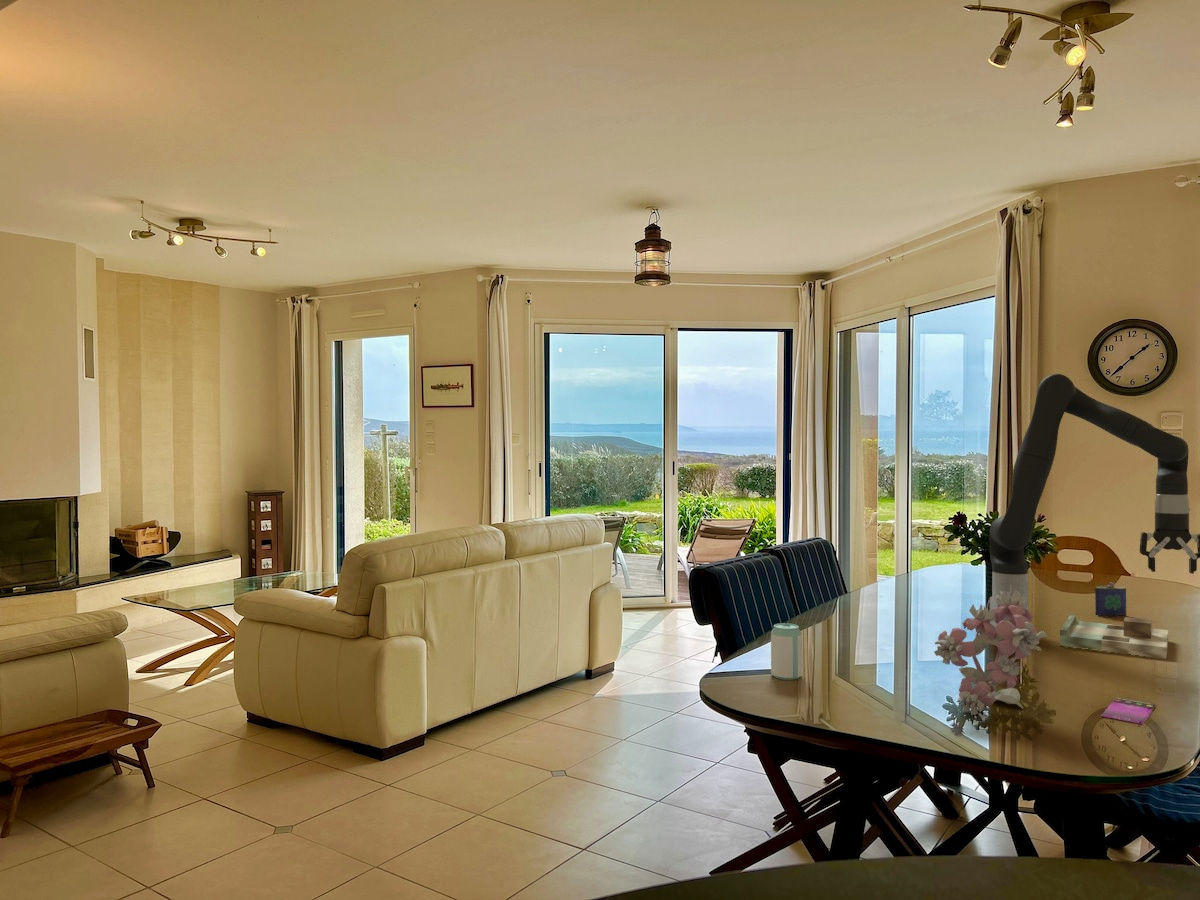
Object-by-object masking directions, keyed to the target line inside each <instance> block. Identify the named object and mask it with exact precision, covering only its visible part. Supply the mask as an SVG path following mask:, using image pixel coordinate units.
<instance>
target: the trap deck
mask: <svg viewBox="0 0 1200 900" xmlns="http://www.w3.org/2000/svg"><path fill="white" fill-rule="evenodd" d="M1060 645H1062V646H1069V647H1076V648H1088V649H1097V650H1103V651H1109V652H1108V653H1110V652H1115V653H1114V654H1118V653H1123V654H1122V655H1126V654H1131V655H1130V656H1135V655H1139V656H1138V657H1143V656H1146V657H1145V658H1151V657H1155V658H1154V659H1160V658H1162V660H1167V658H1168V657H1167V655H1168V646H1169V630H1168V629H1159V628H1152V635H1151V639H1147V638H1138V637H1128V636H1124V625H1120V624H1111V623H1100V622H1099V623H1098V622H1093V621H1092V622H1090V621H1083V620H1081V621H1080V620H1077V615H1074V614H1073V615H1072V614H1070V615H1069V616H1068V618H1067V619H1066V621H1065V622H1064V623H1063V625H1062V626H1061V628H1060V629H1059V646H1060ZM1076 648H1075V649H1076Z"/></svg>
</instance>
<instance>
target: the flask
mask: <svg viewBox="0 0 1200 900" xmlns="http://www.w3.org/2000/svg"><path fill="white" fill-rule="evenodd" d="M1115 584H1116V583H1114V582H1111V581H1110V582H1109V584H1108V585H1104V586H1103V585H1100V586H1096V587H1095V588H1094V591H1095V593H1094V594H1095V596H1094V597H1095V598H1094V599H1095V602H1094V603H1095V616H1096V615H1098V616H1097V617H1100V616H1111V617H1110V618H1112V617H1113V618H1114V617H1115V616H1116V618H1117V616H1119V618H1124V617H1125V616H1126V617H1127V588H1126V587H1122V586H1118V587H1117V586H1115ZM1123 616H1124V617H1123Z"/></svg>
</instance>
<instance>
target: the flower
mask: <svg viewBox="0 0 1200 900" xmlns="http://www.w3.org/2000/svg"><path fill="white" fill-rule="evenodd" d="M1000 595H1001V597H1000V596H999V595H997V596H996V597H995V598H996V603H998V604H999V605H1000V606H1001V607H998V608H996V609H992V610H991V611H990V609H991V608H990V607H989V605H990V599H987V604H986V605H982V604H979V608H978V609H977V608H976V607H975V605H974V603H972V605H971V607H970V609H969V611H968V612H969V613H970V615H972V617H974V618H970V617H968V618H965V620H964V621H962V623H961V624H962V627H963V629H962V628H959V627H954V628H952V629H951V631H950V633H949V635H948V631H946V630H944V631H942V632H941V633H939V635H938V638H937V641H935V642H934V645H937V646H936V650H935V651H933V652H934V655H935V656H936V657H937V656H940V657H941V658H942V664H945V665H950V663H952V665H954V666H956V667H959V668H958V670H959V672H960V674H962V676H963V678H961V681H960V686H959V688H958V691H959V693H958V696H959V697H958V699H957V701H956V703H958V704H960V705H959V706H958V707H959V708H960V707H962V710H961V712H962V713H964V712H968V711H969V710H970V711H971V712H970V715H972V716H973V715H977V714H979V713H980V712H981V711H982V710H983V709H984V708H985V707H990V706H993V704H994V702H996V701H1000V702H1002V703H1006V704H1008V705H1017V706H1018V707H1020V708H1021V709H1022V710H1023V709H1024V707H1023V705H1022V704H1021V702H1020V700H1021V694H1020V692H1019V689H1017V688H1015V686H1017V682H1018V677H1017V676H1019V674H1020V669H1021V668H1022V666H1021V665H1020V664H1019V663H1020V661H1016V660H1024V659H1026V658H1028V657H1032V650H1033V651H1038V652H1040V651H1042V648H1041V647H1040V646H1039V644H1040V640H1041V639H1042V638H1047V637H1048V636H1047V634H1046V632H1045V631H1044V630H1041V631H1039V632H1038V631H1037V630H1036V628H1035V627H1034V626H1035V624H1033V623H1032V621H1033V619H1034V616H1033V614H1032V612H1031V610H1029V609H1028V610H1026V609H1024V608H1023V607H1020V606H1022V605H1024V604H1025V601H1026V599H1025V596H1024V594H1023V595H1022V596H1021V597H1020V595H1021V594H1020V593H1019V592H1018V591H1016V590H1014V591H1013V595H1012V596H1011V585H1010V594H1009V592H1007V594H1006V592H1005V593H1003V592H1002V591H1000ZM1006 615H1007V616H1008V619H1009V620H1010V622H1009V621H1006V620H1004V619H1005V617H1006ZM1023 616H1025V617H1026V618H1025V617H1023ZM990 621H995V622H996V623H997V626H996V628H995V627H994V626H993V625H992V624H990ZM1016 626H1017V627H1016ZM974 629H975V633H976V634H975V638H974V639H973V640H972V641H964V640H965V639H966V638H967V631H966V630H969V631H971V632H972V631H973V630H974ZM990 645H992V646H996V647H997V652H996V655H995V659H994V661H990V662H989V663H986V665H985V671H990V672H989V674H988V675H986V674H985V673H984V670H983V668H982V665H981V664H980V662H979V660H978V658H977V656H978V655H980V654H982V653H983V652H984V650H986V649H987V648H988V646H990ZM1013 654H1014V656H1013V657H1011V656H1012V655H1013ZM962 656H963V657H966V658H972V659H973V662H974V666H975V667H970V666H967V665H969V662H968V661H966V660H965V659H964V658H963V657H962ZM1009 657H1010V659H1009ZM1015 661H1016V662H1015ZM1005 682H1006V686H1007V687H1006V688H1004V689H1002V688H1001V689H998V690H997V686H999V685H1001V684H1003V683H1005ZM973 684H974V687H973V686H972V685H973ZM978 711H979V712H978Z"/></svg>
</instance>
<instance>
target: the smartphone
mask: <svg viewBox="0 0 1200 900" xmlns="http://www.w3.org/2000/svg"><path fill="white" fill-rule="evenodd" d="M1155 708H1156V704H1155V703H1151V702H1145V701H1140V700H1134V699H1128V698H1122V697H1115V698H1114V699H1113V700H1112V702H1111V703H1110V704H1109V705H1108V707H1107V708H1106V709H1105V710H1104V711H1103V713H1102V714H1100V716H1101V718H1102V719H1103V718H1104V719H1109V720H1113V721H1119V722H1125V723H1130V724H1135V725H1141V726H1142V725H1144V723H1146V721H1147V720H1148V719H1149V717H1150V715H1151V714H1152V713H1153V711H1154V709H1155Z"/></svg>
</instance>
